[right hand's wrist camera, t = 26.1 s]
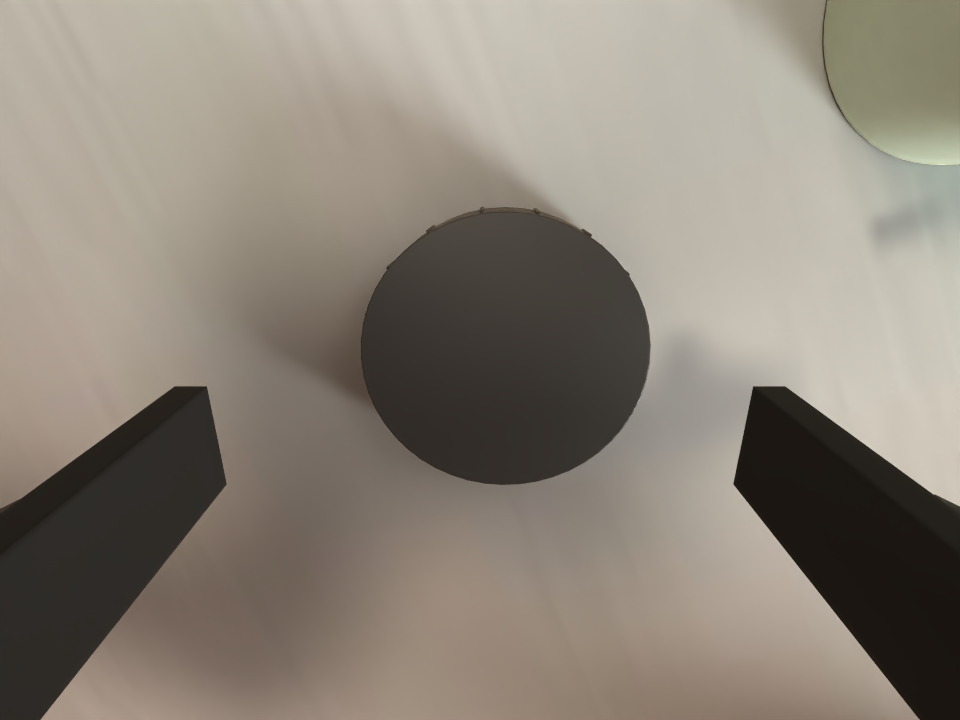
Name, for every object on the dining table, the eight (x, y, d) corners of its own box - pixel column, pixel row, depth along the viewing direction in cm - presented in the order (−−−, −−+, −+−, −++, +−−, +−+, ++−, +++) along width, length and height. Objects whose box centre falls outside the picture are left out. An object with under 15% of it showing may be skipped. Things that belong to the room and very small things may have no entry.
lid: (612, 171, 19) (626, 171, 17) (655, 429, 22) (672, 455, 20) (337, 246, 20) (318, 254, 18) (418, 479, 23) (410, 509, 21)
